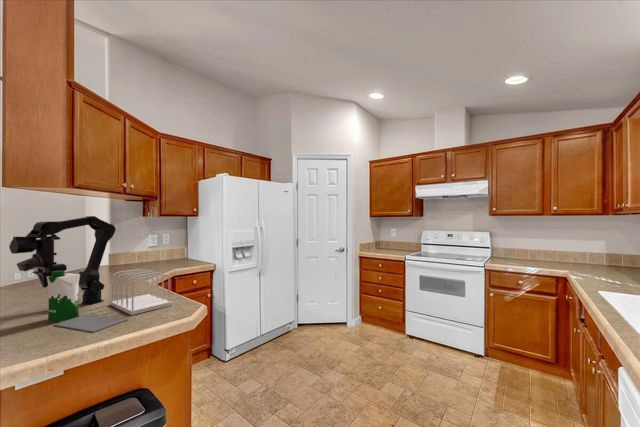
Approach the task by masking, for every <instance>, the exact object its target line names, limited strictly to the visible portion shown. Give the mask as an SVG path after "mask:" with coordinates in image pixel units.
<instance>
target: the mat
mask: <svg viewBox="0 0 640 427" xmlns="http://www.w3.org/2000/svg"><path fill="white" fill-rule="evenodd" d="M127 321H129V319H128V318H122V317H115V316H108V315H102V314H95V313H86V314H84V315H81V316H80V315H79V317H75V318H72V319H69V320H65V321H62V322H57V323H54V324H53V326H54V327H59V328H60V327H61V328H64V329H70V330H71V329H72V330H76V331H82V332H86V333H87V332H88V333H92V334H94V333H97V332H101V331H103V330H106V329H109V328H111V327H114V326H116V325H119V324H122V323H125V322H127Z"/></svg>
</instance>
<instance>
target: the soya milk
mask: <svg viewBox="0 0 640 427" xmlns="http://www.w3.org/2000/svg"><path fill="white" fill-rule="evenodd" d="M65 272H66V271H64V270H59V271H52V272H51V276H48V277H47V281H48V286H47V288H48V311H47V313H48V315H47V316H48V318H47V320H48V321H50V322H57V323H60V322H64V321H67V320H70V319H73V318H77V317H80V314H79V312H80V310H79V278H80V274H79V273H69V272H67V273H65Z"/></svg>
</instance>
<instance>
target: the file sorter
mask: <svg viewBox="0 0 640 427" xmlns="http://www.w3.org/2000/svg"><path fill="white" fill-rule="evenodd" d="M118 274H119V275H118ZM116 275H118V276H117V277H116V280H114V279H115V276H116ZM121 276H122V278H121V280H120V299H119V290H118V289H119V288H118V287H119V285H118V284H119V282H118V280H119V278H120V277H121ZM128 277H129V278H128ZM159 277H161V288H162V293H161V294H162V297H159ZM164 277H167V280H168V299H165V290H164V289H165V287H164V286H165V284H164V282H165V281H164V279H165V278H164ZM126 278H128V279H127V280H126V282H125V285H126V286H125V290H126V291H125V293H126V295H125V296H126V297H125V298H124V297H123V296H124V295H123V294H124V293H123V281H124V280H125V279H126ZM154 278H156V292H157V293H156V295H154ZM132 279H134V280H133V281H132V284H131V297H129V290H128V288H129V287H128V286H129V281H130V280H132ZM145 279H146V294H142V295H136V296H134V289H135V288H134V285H135V283H136V282H137V281H139V280H145ZM149 279H151V294H150V293H149ZM114 281H115V289H114ZM114 290H115V291H114ZM114 292H116V294H115V296H116V299H115V298H114ZM109 305H110V306H112V307H114V308H116V309H118V310H120V311H121V312H122V311H123V312H124V313H126V314H128V315H131V316H134V315H137V314H141V313H145V312H149V311H154V310H157V309H162V308H166V307H171V306H173V301H171V277H170V275H169V274H163V273H161V272H156V271H154V270H153V271H152V270H149V269H146V268H138V269H130V270H129V269H128V270H123V271H121V270H120V271H117V272H115V273H114V274H112V277H111V301H109Z"/></svg>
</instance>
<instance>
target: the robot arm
mask: <svg viewBox="0 0 640 427" xmlns="http://www.w3.org/2000/svg"><path fill="white" fill-rule="evenodd" d="M83 226H84V227H85V226H89V227H90V229H92V230H94V239H95V242H94V245H93V248H92V250H91V254H90V256H89V260H88V262H87V265H86V268H85V270H84V271H79V272H78V274H80V278H79V287H80V288H79V287H78V288H79V289H80V290H81V291H83V293H82V302H80V303H81V305H82V304H83V305H93V304H94V305H95V304H98V303H101V302H104V299H102V290H104V288H105V284H104V283H102V282H101V281H100V277H101V276H100V271H99V269H100V266H101V264H102V261H103V257H104V254H105V251H106V247H107V244H108V242H109V241H110V240H111V239H112V238H113V236H114V235H115V233H116V230H117V229H116V226H115V225H114V224H111V223H108V222H107V221H104V220H102V219H100V218H98V217H97V216H94V215H87V216H84V217H83V216H82V217H79V218H73V219H66V220H61V221H60V220H59V221H39V222H36V223H35V224H34V225H33V228H32V229H31V230H30V232H28V234H27V235H25V236H13V237H12V240H11V241H10V244H9V248H8V249H9V251H10V253H11V254H15V255H16V254H25V253H26V254H27V253H33V252H34V251H35V253H33V254H32V256H31V257H30V258H27V259H26V260H23V261H20V262H17V263H16V266H17V268H18V270H19V271H20V272H21V271H22V272H28V271H30V270H33V271H31V273H32V274H34V275H36V276H37V278H38V279H39V282H40V284H41V286H42V288H48V281H47V277H48V276H51V272H52V271H59V270H64V271H65V272H66V271H67V269H68V268H67V264H65V263H57V261H55V256H57V252H55V241H57V240H61V237H59V236H58V235H57V234H58V233H61V232H63V231H64V230H69V229H73V228H78V227H83Z"/></svg>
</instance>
